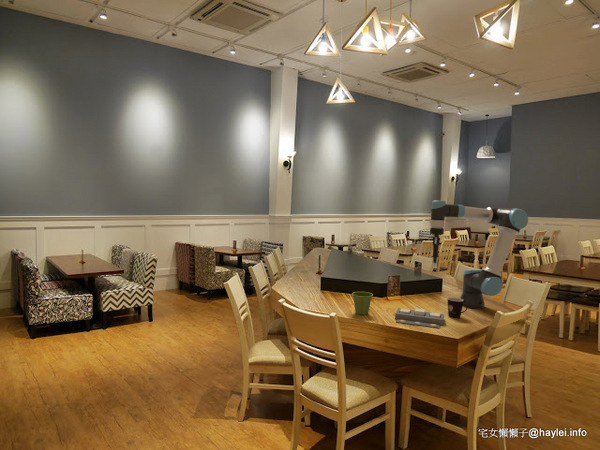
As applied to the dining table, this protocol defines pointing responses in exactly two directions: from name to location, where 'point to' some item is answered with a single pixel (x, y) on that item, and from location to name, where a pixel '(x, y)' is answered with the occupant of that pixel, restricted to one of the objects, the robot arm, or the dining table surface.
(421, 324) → the pattern card
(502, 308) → the dining table surface
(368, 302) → the plant pot
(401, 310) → the button far
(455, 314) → the coffee mug
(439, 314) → the button near
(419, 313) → the button middle
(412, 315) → the button board
